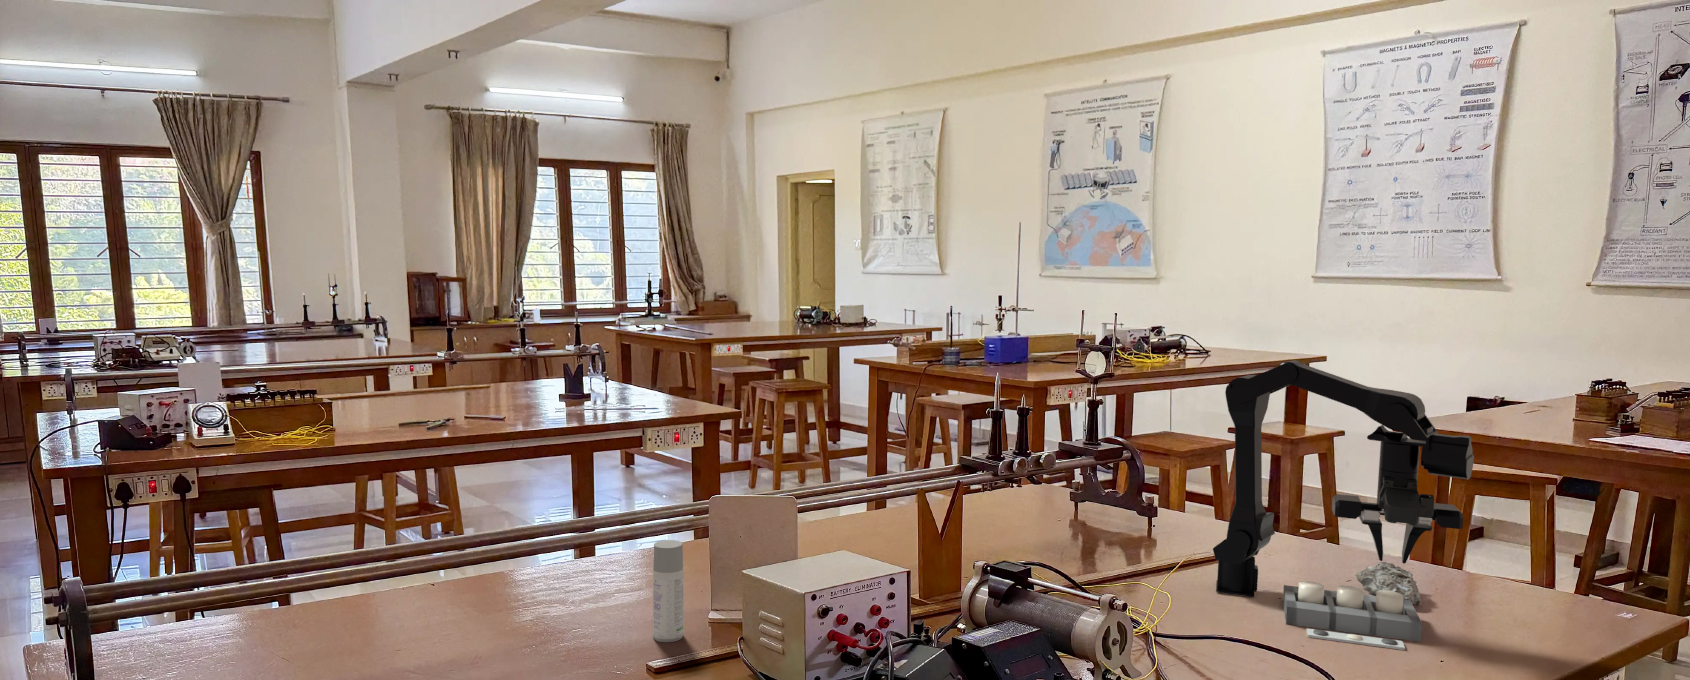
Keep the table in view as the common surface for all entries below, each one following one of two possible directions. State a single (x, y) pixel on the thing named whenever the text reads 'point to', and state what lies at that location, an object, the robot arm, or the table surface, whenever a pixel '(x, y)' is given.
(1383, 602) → the button right
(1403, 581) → the mineral specimen
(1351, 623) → the button board
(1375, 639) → the card
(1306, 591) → the button left
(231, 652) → the table surface
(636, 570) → the table surface
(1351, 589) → the button middle
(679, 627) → the container
